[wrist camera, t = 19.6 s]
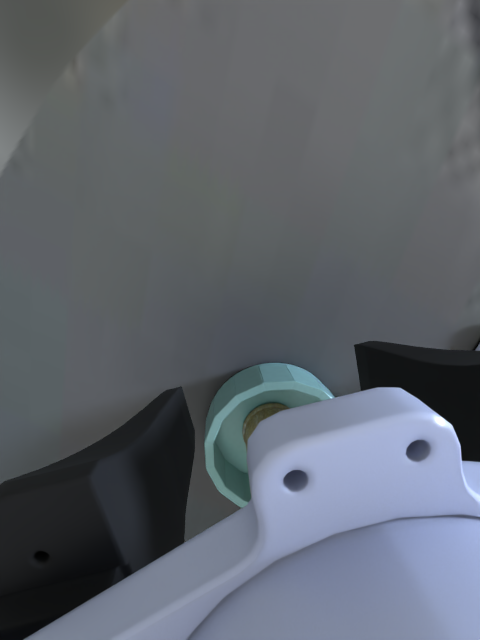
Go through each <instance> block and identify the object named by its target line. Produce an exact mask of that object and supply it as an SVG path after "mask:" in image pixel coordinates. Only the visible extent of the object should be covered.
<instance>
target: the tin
mask: <svg viewBox="0 0 480 640" xmlns="http://www.w3.org/2000/svg"><path fill="white" fill-rule="evenodd" d="M332 398H335V397H334V396H333V395H332V394H331V392H330V391H329V390H328V388H326V387H325V386H324V385H323V384H322V383H321V382H320V381H319V380H318V379H317V378H316V377H315V376H314V375H312V374H311V373H309V372H308V371H306V370H304V369H302V368H300V367H297V366H294V365H290V364H285V363H264V364H259V365H255V366H252V367H249V368H247V369H244V370H242V371H241V372H239V373H237V374H235V375H234V376H233V377H231V378H230V379H229V380H228V381H227V382H225V383H224V384H223V386H222V387H221V388H220V389H219V390H218V392H217V393H216V395H215V397H214V398H213V400H212V403H211V405H210V408H209V411H208V416H207V418H206V427H205V440H204V448H205V462H206V470H207V472H208V473H209V475H210V477H211V479H212V480H213V482H214V484H215V486H216V488H217V489H218V491H219V492H220V493H221V494H223V495H224V496H225V497H227V498H228V499H229V500H231V501H232V502H233V503H235V504H236V505H238V506H239V507H241V508H243V507H245V506H246V505H247V504H248V503H249V501H250V500H251V491H250V484H249V476H248V469H247V460H246V457H247V449H246V444H245V442H244V439H243V433H242V431H243V424H244V421H245V420H246V417H247V416H248V415H249V414H250V412H251V411H252V410H254V409H255V408H256V407H259V406H260V405H263V404H267V403H280V404H282V405H285V406H287V407H289V408H290V409H291V408H295V407H299V406H303V405H307V404H311V403H315V402H319V401H323V400H328V399H332Z"/></svg>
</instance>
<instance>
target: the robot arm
mask: <svg viewBox="0 0 480 640" xmlns="http://www.w3.org/2000/svg"><path fill="white" fill-rule="evenodd" d="M354 347H355V354H356V360H357V367H358V373H359V380H360V386H361V391H360V392H356V393H352V394H348V395H344V396H340V397H336V398H332V399H328V400H323V401H319V402H315V403H311V404H307V405H303V406H299V407H295V408H291V409H286V410H282V411H280V412H278V413H276V414H274V415H272V416H270V417H268V418H266V419H264V420H262V421H260V423H259V424H258V426H257V427H256V428H255V430H254V431H253V433H252V434H251V436H250V437H249V439H248V445H247V465H248V473H249V480H250V488H251V496H252V498H251V500H250V501H249V503H248V504H247V505H246V506H245V507H243V508H241V509H240V510H238V511H236V512H235V513H233V514H231V515H230V516H228V517H226V518H225V519H223V520H221V521H220V522H218V523H216V524H215V525H213V526H211V527H210V528H208V529H206V530H205V531H203V532H201V533H200V534H198V535H196V536H195V537H193V538H191V539H190V540H188V541H186V542H185V543H184V533H185V512H186V504H187V497H188V490H189V484H190V478H191V472H192V465H193V459H194V452H195V430H194V427H193V424H192V420H191V417H190V413H189V410H188V407H187V403H186V400H185V397H184V393H183V390H182V387H178V388H174V389H170V390H166V391H164V392H163V393H162V394H160V395H159V396H158V397H157V398H155V399H154V400H153V401H152V402H151V403H150V404H148V405H147V406H146V407H145V408H144V409H143V410H141V411H140V412H139V413H138V414H136V415H135V416H134V417H133V418H131V419H130V420H129V421H128V422H126V423H125V424H124V425H122V426H121V427H120V428H118V429H117V430H115V431H114V432H112V433H111V434H109V435H108V436H106V437H105V438H103V439H101V440H100V441H98V442H96V443H94V444H92V445H90V446H89V447H87V448H85V449H83V450H81V451H79V452H78V453H76V454H73V455H71V456H69V457H67V458H65V459H63V460H60V461H58V462H56V463H53V464H51V465H49V466H46V467H44V468H41V469H39V470H36V471H33V472H30V473H28V474H25V475H22V476H19V477H16V478H14V479H11V480H8V481H4V482H3V483H2V484H1V485H0V640H480V343H479V345H478V346H477V348H476V350H475V351H465V350H443V349H432V348H423V347H415V346H408V345H401V344H394V343H387V342H379V341H368V342H364V343H360V344H356V345H354Z"/></svg>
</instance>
